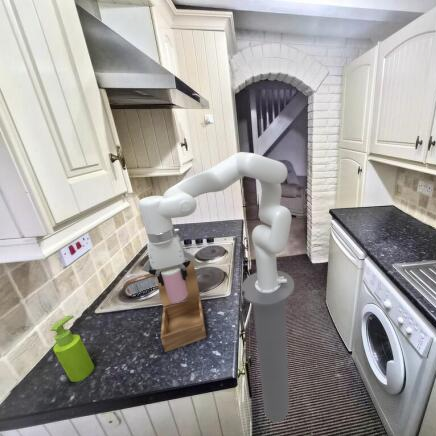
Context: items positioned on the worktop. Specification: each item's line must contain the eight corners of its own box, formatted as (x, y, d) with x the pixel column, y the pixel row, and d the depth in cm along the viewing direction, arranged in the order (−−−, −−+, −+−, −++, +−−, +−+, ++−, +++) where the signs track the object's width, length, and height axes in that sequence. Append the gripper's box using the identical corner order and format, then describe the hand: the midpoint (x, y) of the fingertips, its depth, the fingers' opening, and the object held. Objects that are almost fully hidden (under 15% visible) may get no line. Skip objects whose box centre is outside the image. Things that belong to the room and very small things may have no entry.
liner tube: (190, 290, 85) (183, 262, 81) (184, 302, 80) (176, 273, 75) (173, 291, 85) (165, 264, 80) (165, 303, 79) (157, 274, 75)
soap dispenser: (101, 360, 76) (79, 314, 69) (83, 382, 70) (57, 333, 62) (84, 360, 76) (61, 314, 69) (64, 381, 70) (36, 333, 62)
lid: (192, 259, 90) (192, 254, 95) (153, 267, 85) (155, 262, 90) (200, 296, 94) (199, 289, 99) (162, 306, 89) (164, 299, 94)
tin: (162, 284, 113) (158, 269, 110) (163, 287, 111) (159, 272, 108) (126, 296, 105) (120, 281, 102) (126, 300, 103) (120, 285, 100)
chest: (206, 337, 84) (203, 323, 81) (164, 352, 78) (160, 337, 76) (202, 309, 97) (200, 296, 94) (167, 320, 92) (163, 307, 89)
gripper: (190, 225, 79) (199, 268, 86) (132, 235, 73) (147, 282, 80) (191, 233, 73) (201, 280, 80) (127, 246, 67) (144, 295, 73)
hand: (174, 280), depth 80 cm, fingers closed on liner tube, 6 cm apart
